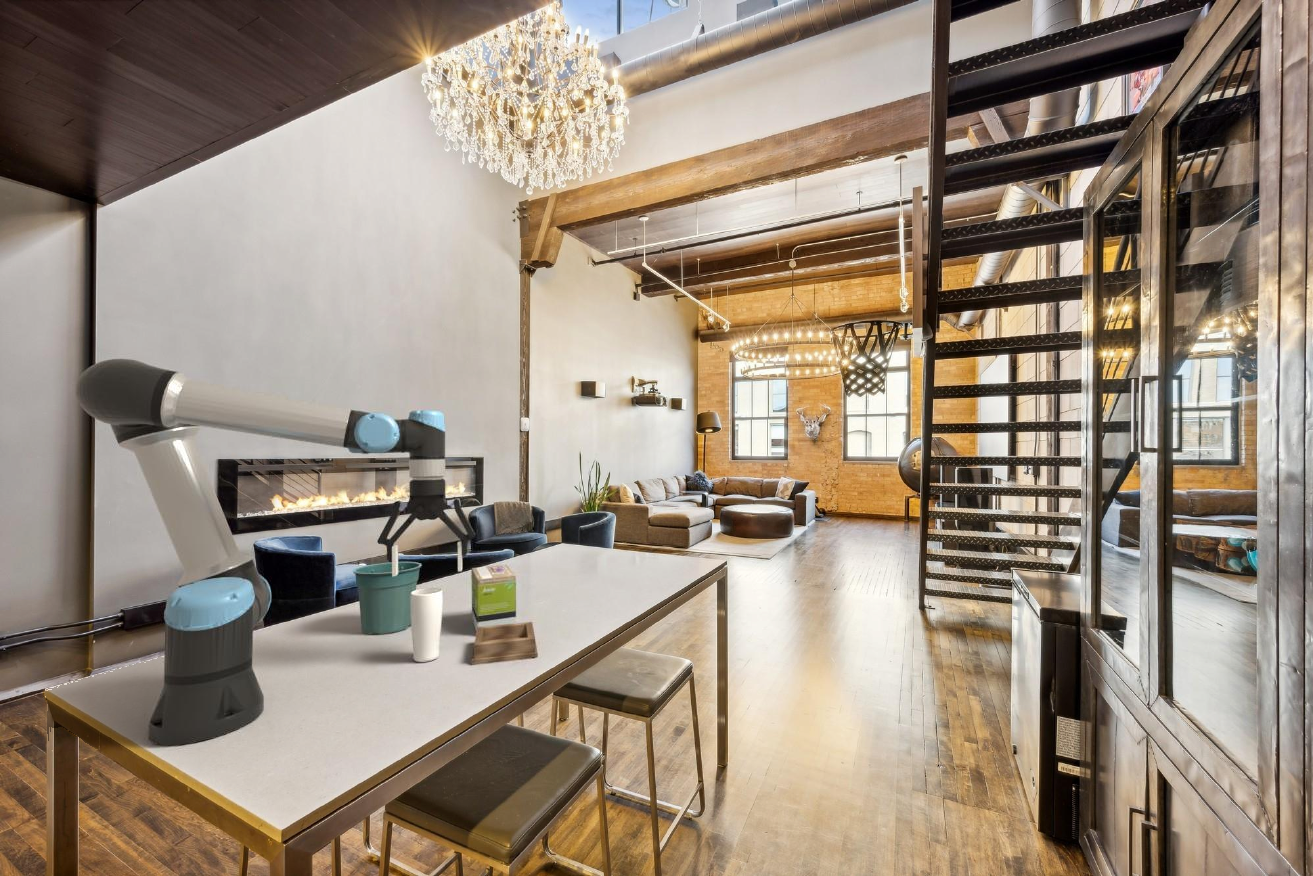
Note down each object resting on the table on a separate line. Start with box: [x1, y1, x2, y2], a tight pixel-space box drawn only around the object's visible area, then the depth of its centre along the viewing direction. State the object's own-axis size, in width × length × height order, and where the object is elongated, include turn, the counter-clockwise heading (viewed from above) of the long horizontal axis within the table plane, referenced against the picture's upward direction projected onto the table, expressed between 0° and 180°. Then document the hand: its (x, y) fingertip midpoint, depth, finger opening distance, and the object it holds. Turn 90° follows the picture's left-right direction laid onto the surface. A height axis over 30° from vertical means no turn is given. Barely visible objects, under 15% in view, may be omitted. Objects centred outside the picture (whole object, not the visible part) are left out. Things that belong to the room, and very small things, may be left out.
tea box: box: [471, 564, 517, 631], centre depth 143 cm, size 15×10×15 cm, turn 25°
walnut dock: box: [471, 621, 539, 666], centre depth 124 cm, size 14×14×4 cm
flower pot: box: [352, 561, 423, 635], centre depth 142 cm, size 16×16×16 cm
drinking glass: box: [410, 587, 444, 663], centre depth 119 cm, size 7×7×15 cm
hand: (428, 572), depth 120 cm, fingers open, 13 cm apart
